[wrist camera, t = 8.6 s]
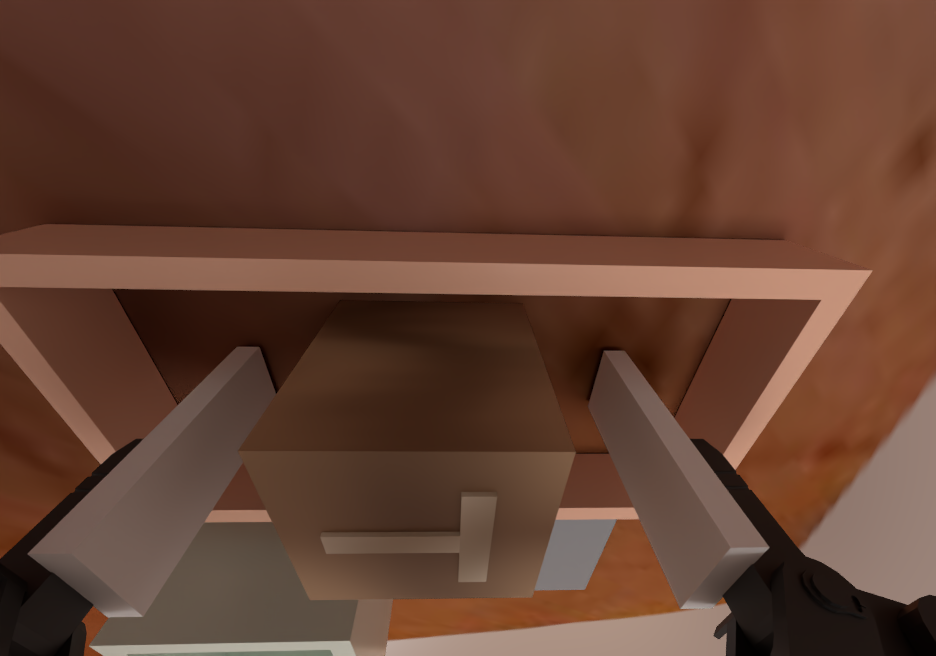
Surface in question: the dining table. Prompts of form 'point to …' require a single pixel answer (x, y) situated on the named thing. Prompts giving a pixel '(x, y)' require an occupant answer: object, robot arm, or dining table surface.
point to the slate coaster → (573, 553)
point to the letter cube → (414, 454)
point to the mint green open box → (244, 606)
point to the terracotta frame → (409, 271)
